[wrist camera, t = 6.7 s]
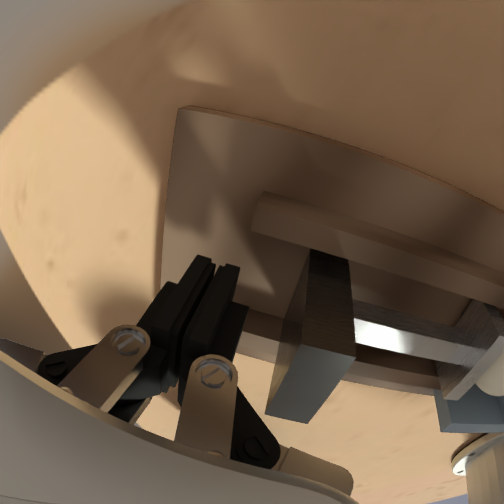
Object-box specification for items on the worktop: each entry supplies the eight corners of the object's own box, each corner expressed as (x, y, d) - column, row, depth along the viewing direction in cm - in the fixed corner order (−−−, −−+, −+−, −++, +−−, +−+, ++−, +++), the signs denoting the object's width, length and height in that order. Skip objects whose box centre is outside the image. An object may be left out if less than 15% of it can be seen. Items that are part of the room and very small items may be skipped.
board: (579, 259, 11) (602, 284, 8) (483, 389, 17) (492, 418, 15) (189, 105, 12) (159, 112, 10) (167, 314, 19) (147, 345, 16)
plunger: (490, 297, 12) (532, 383, 7) (446, 357, 14) (466, 442, 10) (312, 239, 13) (303, 338, 8) (283, 318, 15) (263, 416, 10)
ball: (557, 366, 8) (511, 346, 9) (508, 416, 11) (459, 402, 11) (536, 317, 12) (491, 295, 13) (498, 366, 14) (453, 348, 15)
